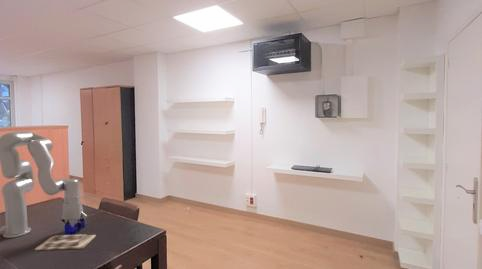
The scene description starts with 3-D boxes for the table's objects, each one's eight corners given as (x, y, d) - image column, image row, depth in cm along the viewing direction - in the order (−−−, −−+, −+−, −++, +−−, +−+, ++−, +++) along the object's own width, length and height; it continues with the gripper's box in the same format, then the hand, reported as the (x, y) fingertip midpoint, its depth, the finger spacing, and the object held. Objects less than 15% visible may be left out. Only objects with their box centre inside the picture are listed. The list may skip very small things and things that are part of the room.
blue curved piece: (78, 226, 165) (78, 217, 164) (84, 227, 164) (84, 217, 164) (62, 235, 153) (62, 225, 153) (69, 235, 152) (69, 225, 152)
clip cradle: (34, 250, 135) (34, 245, 135) (51, 237, 149) (51, 233, 149) (83, 248, 137) (83, 243, 137) (95, 236, 151) (95, 232, 151)
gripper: (53, 202, 153) (55, 232, 154) (84, 201, 155) (85, 231, 156) (61, 198, 161) (62, 227, 162) (90, 197, 162) (92, 226, 163)
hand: (74, 228), depth 159 cm, fingers open, 6 cm apart
